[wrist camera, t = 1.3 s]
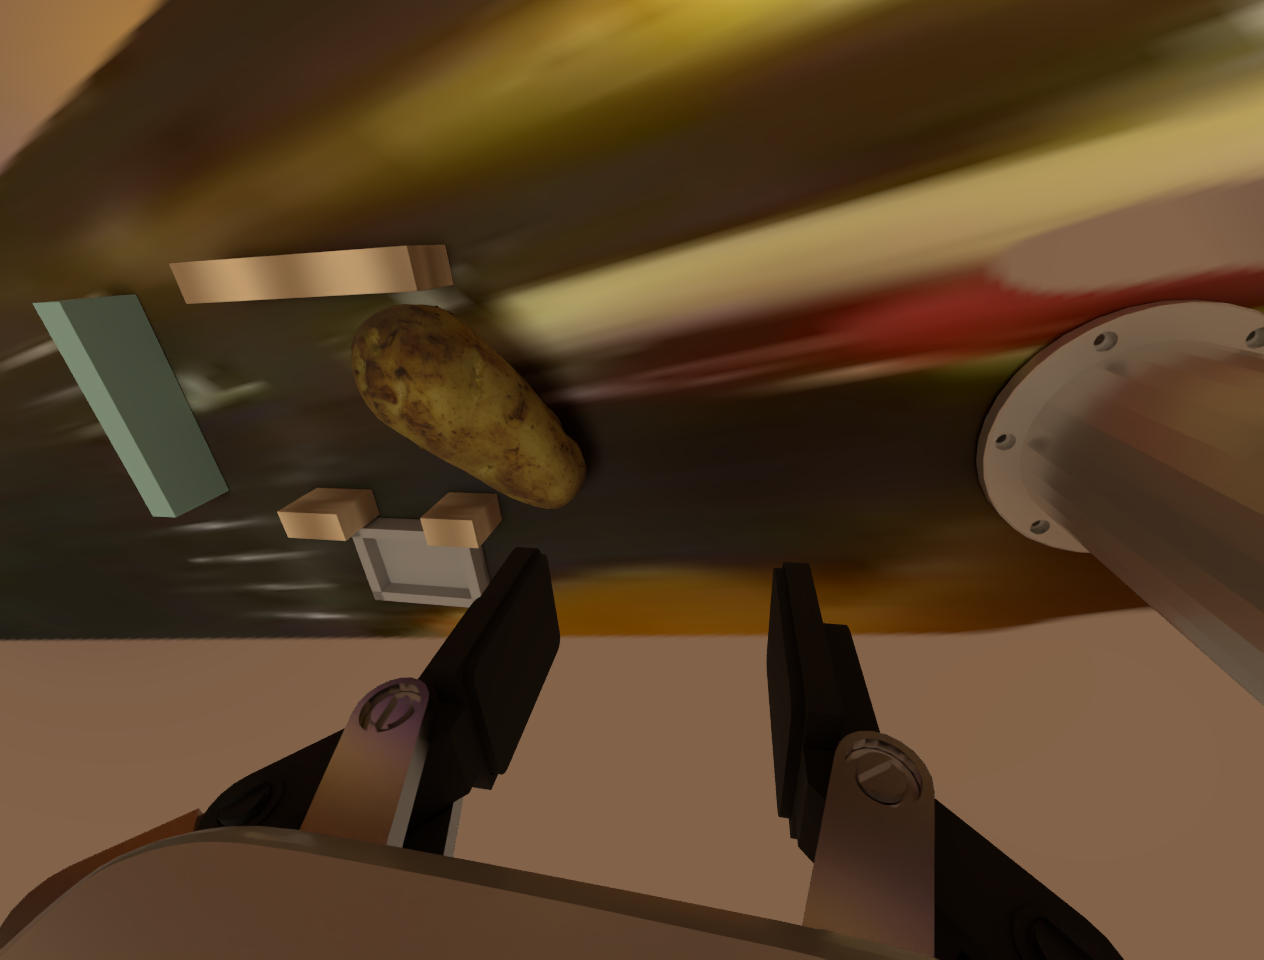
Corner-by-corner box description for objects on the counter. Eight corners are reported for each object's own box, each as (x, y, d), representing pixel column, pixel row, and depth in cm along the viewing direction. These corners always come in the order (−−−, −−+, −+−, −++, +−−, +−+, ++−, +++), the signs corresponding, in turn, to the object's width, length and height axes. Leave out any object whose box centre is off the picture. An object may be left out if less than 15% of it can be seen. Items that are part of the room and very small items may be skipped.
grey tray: (476, 522, 34) (465, 533, 33) (493, 595, 37) (484, 608, 35) (363, 516, 36) (348, 527, 34) (387, 587, 38) (375, 599, 37)
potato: (496, 504, 33) (432, 576, 26) (400, 315, 28) (289, 341, 21) (608, 476, 30) (570, 548, 23) (522, 263, 26) (443, 273, 19)
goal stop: (136, 294, 31) (58, 301, 27) (229, 490, 37) (176, 517, 33) (111, 296, 31) (32, 303, 28) (207, 489, 37) (152, 516, 34)
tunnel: (445, 244, 26) (406, 245, 23) (502, 519, 33) (478, 548, 30) (229, 260, 29) (169, 263, 26) (326, 511, 36) (288, 537, 33)
